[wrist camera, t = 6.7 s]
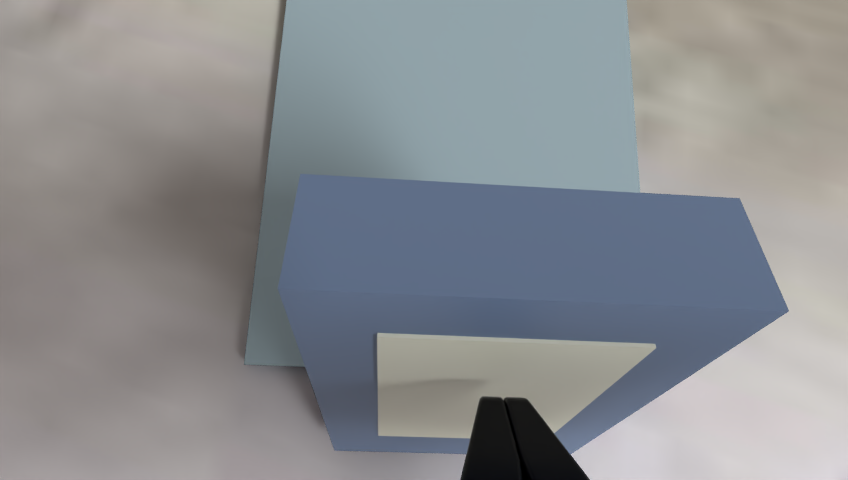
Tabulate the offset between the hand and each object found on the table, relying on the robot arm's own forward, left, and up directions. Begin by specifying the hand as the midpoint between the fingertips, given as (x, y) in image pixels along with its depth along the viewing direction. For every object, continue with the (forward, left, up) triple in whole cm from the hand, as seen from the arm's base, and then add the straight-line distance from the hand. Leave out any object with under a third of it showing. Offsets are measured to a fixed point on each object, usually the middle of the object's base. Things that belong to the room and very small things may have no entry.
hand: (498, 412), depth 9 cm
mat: (+6, +6, -7) cm, 11 cm away
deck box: (-1, -1, -7) cm, 7 cm away
